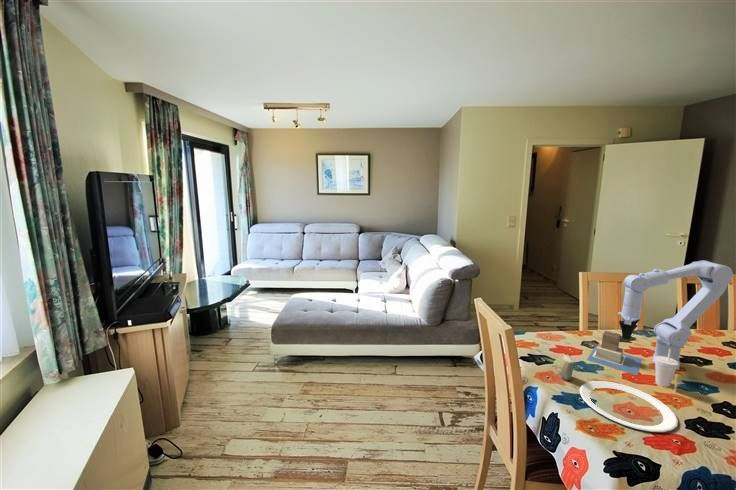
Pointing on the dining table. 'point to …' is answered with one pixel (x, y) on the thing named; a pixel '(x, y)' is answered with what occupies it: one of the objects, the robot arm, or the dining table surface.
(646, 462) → the dining table surface
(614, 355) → the birch block
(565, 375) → the grey small block
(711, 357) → the dining table surface
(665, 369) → the smoothie
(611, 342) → the walnut block
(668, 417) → the white flat ring
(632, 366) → the board
